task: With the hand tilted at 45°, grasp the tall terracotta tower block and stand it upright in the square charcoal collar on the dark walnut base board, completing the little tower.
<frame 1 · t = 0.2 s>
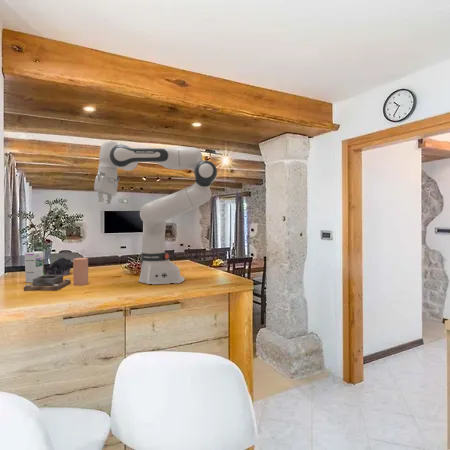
hand: (104, 202, 156), 39 cm above the worktop, tool pointing down, fingers open, 8 cm apart
syrup box: (34, 281, 155), on the worktop
crystal cluster: (57, 275, 173), on the worktop
walnut base board: (48, 286, 144), on the worktop
terracotta tower block: (80, 283, 151), on the worktop
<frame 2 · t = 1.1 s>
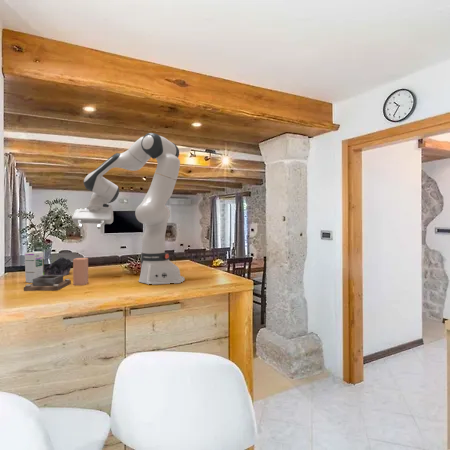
hand: (89, 228, 162), 26 cm above the worktop, tool tilted 45°, fingers open, 8 cm apart
nothing on the worktop moved.
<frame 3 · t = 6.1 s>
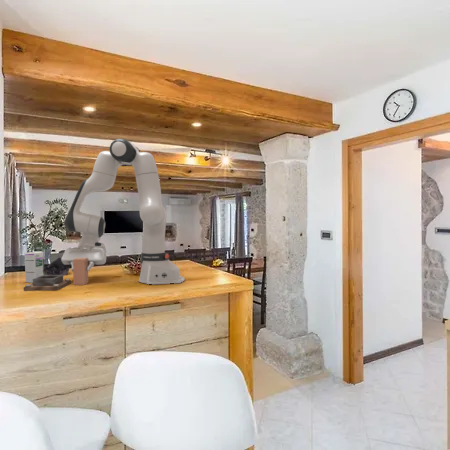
hand: (80, 270, 150), 6 cm above the worktop, tool tilted 45°, fingers closed on terracotta tower block, 5 cm apart
terracotta tower block: (80, 283, 151), on the worktop, touching gripper
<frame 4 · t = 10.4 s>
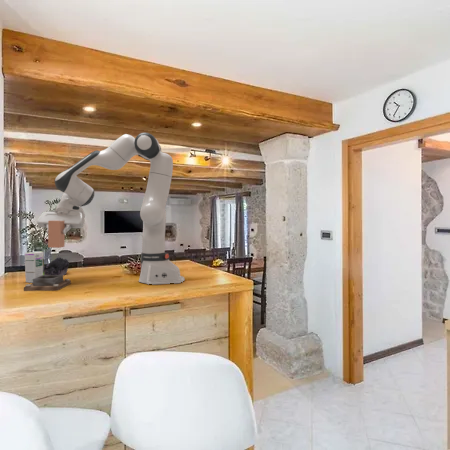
hand: (55, 233, 144), 24 cm above the worktop, tool tilted 45°, fingers closed on terracotta tower block, 5 cm apart
terracotta tower block: (56, 247, 145), point 18 cm above the worktop, touching gripper
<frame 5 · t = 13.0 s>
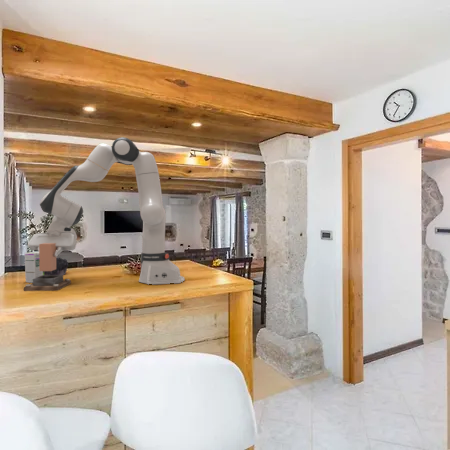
hand: (47, 256, 143), 14 cm above the worktop, tool tilted 45°, fingers closed on terracotta tower block, 5 cm apart
terracotta tower block: (48, 270, 144), point 8 cm above the worktop, touching gripper
when the fingers open (9 cm above the worktop, at t = 15.1 s): terracotta tower block stays where it is, resting on walnut base board.
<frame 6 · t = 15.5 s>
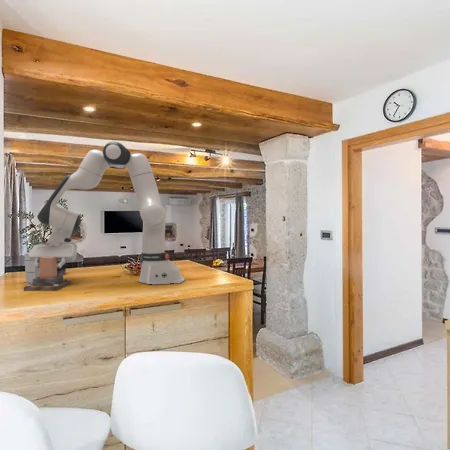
hand: (47, 267, 143), 9 cm above the worktop, tool tilted 45°, fingers open, 8 cm apart
terracotta tower block: (48, 283, 144), point 1 cm above the worktop, touching walnut base board
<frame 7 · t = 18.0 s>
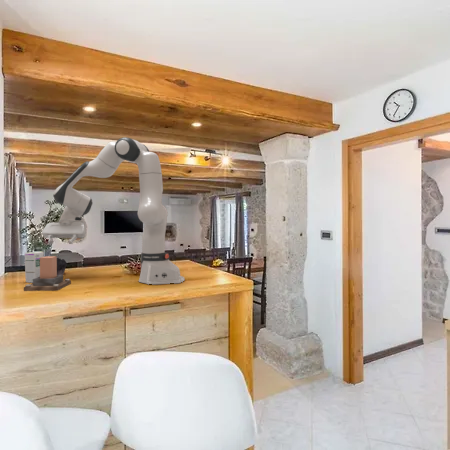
hand: (60, 243, 155), 19 cm above the worktop, tool tilted 45°, fingers open, 8 cm apart
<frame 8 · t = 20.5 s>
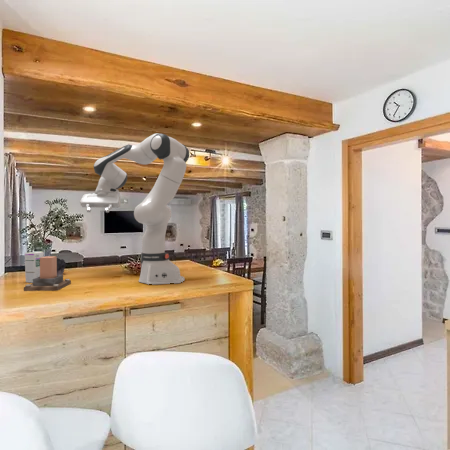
hand: (97, 211, 165), 34 cm above the worktop, tool tilted 45°, fingers open, 8 cm apart
at the end: terracotta tower block 0.0 cm off-centre on the walnut base board, point 1.5 cm above the walnut base board's base; terracotta tower block tilted 0°; the gripper is holding nothing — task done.
